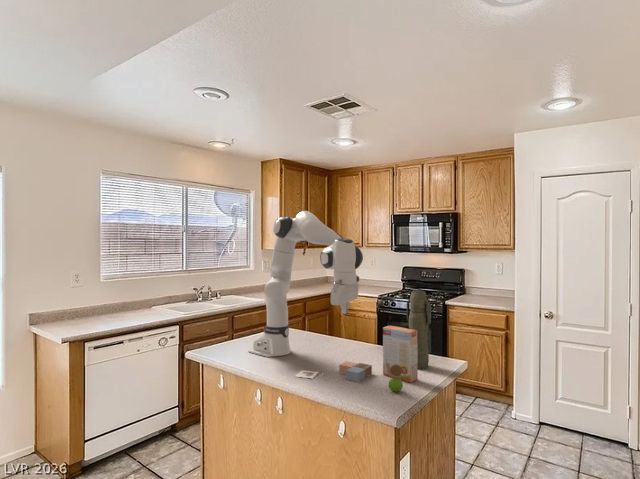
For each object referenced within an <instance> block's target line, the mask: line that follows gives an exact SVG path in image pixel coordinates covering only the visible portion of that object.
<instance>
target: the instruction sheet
mask: <svg viewBox="0 0 640 479" xmlns="http://www.w3.org/2000/svg"><path fill="white" fill-rule="evenodd" d="M318 374H319V372H318V371H311V370H301V369H300V371H299V372H298V373H297V374H296V375H295V376H294V378H300V377H302V379H308V378H310V379H309V380H313V379H314V378H315V377H316V376H317V375H318Z"/></svg>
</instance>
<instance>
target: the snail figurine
mask: <svg viewBox="0 0 640 479" xmlns="http://www.w3.org/2000/svg"><path fill="white" fill-rule="evenodd" d="M389 365H390V364H389V363H388V362H387V359H386V366H387V371H388V373H389V375H390V376H391V377H390V379H389V381H388V388H389V390H390V391H392V392H394V393H398V392H400V391H401V390H402V389H403V385H404V384H403V380H401V379H400V377H402V375H400V374H401V373H402V368H401V367H400V366H399V365H397V364H395V365H393V366H391V368H390V367H389Z"/></svg>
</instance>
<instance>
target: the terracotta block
mask: <svg viewBox="0 0 640 479" xmlns="http://www.w3.org/2000/svg"><path fill="white" fill-rule="evenodd" d="M357 364H358V362H354V361H347V360H346V361H344V362H342V363H339V364H338V365H339V366H338V368H339V369H338V370H339V371H338V373H339V374H341V375H345V376H346V370H347V369H349V368H351V367H353V366H355V365H357Z"/></svg>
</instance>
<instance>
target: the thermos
mask: <svg viewBox="0 0 640 479" xmlns="http://www.w3.org/2000/svg"><path fill="white" fill-rule="evenodd" d="M406 321H407V322H408V329H412V330H417V362H418V363H417V364H418V370H427V369H428V368H429V362H430V360H429V358H430V357H429V356H430V354H429V350H428V331H429V325H430V324H431V323H432V305H431V302H429V301H428V296H427V293H426V291H424V290H421V289H415V290H412V291H411V293H410V296H409V299H408V300H407V302H406Z"/></svg>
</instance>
